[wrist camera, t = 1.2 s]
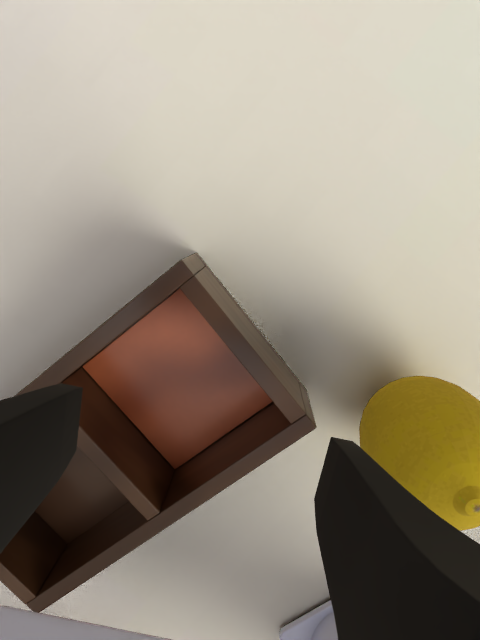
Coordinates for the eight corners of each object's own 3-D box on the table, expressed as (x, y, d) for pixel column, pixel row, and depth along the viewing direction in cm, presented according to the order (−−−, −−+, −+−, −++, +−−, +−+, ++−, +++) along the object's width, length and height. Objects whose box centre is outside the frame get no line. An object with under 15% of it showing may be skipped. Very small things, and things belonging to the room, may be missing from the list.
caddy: (307, 390, 21) (317, 427, 17) (71, 552, 25) (36, 615, 21) (196, 252, 20) (181, 259, 16) (-38, 443, 23) (-99, 488, 19)
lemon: (414, 467, 22) (498, 601, 14) (324, 423, 22) (360, 535, 14) (474, 383, 21) (601, 480, 13) (380, 335, 20) (453, 404, 13)
